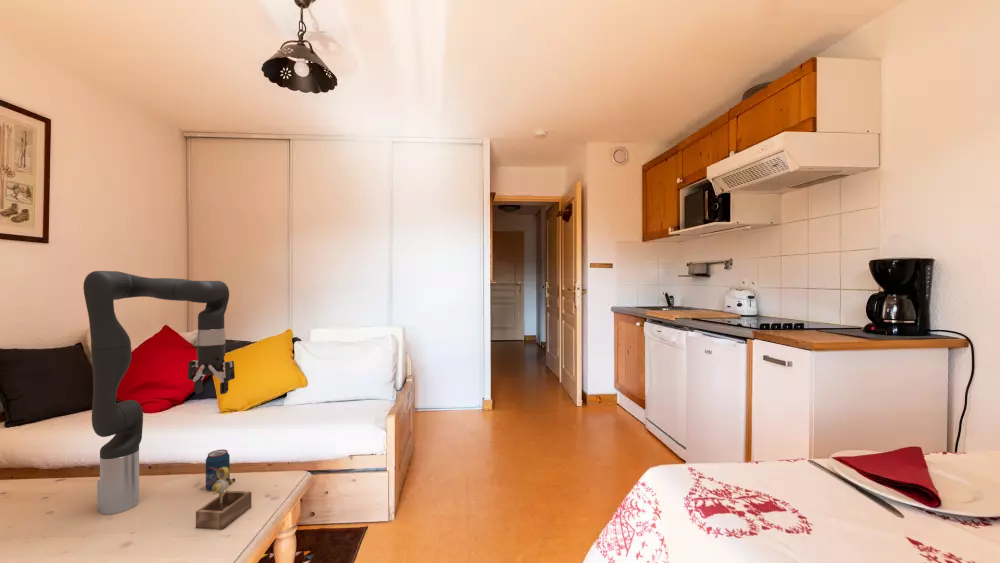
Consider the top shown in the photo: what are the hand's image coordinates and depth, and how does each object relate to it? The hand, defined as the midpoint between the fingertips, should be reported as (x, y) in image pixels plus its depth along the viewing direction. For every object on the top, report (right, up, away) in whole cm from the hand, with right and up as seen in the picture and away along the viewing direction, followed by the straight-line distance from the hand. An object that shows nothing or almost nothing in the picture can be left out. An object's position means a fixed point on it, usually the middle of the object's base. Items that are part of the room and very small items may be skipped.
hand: (211, 393), depth 133 cm
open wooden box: (+9, -36, -7) cm, 38 cm away
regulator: (+9, -36, -7) cm, 37 cm away
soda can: (-6, -36, +12) cm, 39 cm away
